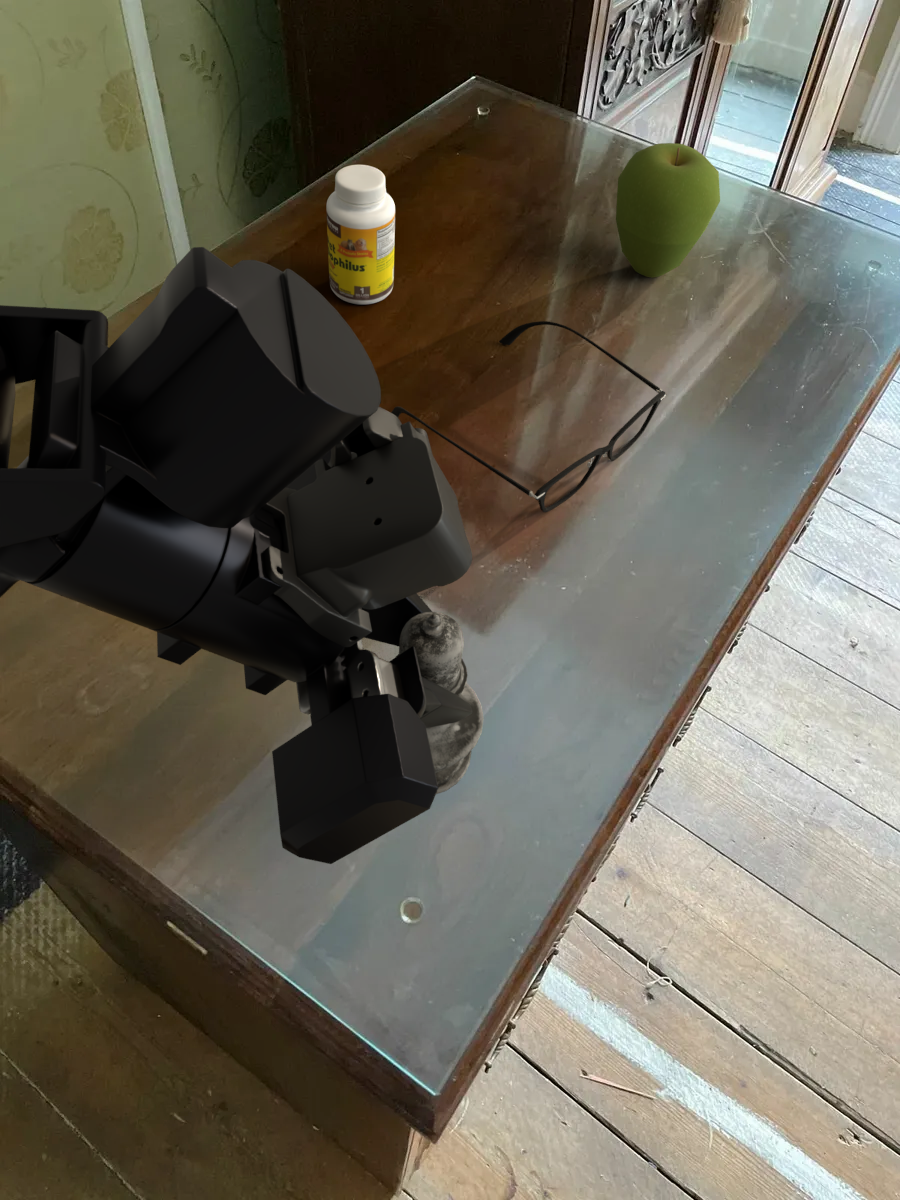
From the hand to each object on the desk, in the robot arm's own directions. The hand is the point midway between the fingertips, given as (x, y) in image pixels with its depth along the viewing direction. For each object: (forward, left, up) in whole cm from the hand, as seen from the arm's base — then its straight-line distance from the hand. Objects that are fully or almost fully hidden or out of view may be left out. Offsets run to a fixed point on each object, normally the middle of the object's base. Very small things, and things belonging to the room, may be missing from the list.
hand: (456, 679), depth 45 cm
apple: (+35, +43, -12) cm, 57 cm away
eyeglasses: (+16, +27, -12) cm, 34 cm away
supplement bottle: (+9, +47, -12) cm, 50 cm away
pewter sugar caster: (-1, 0, -7) cm, 7 cm away
